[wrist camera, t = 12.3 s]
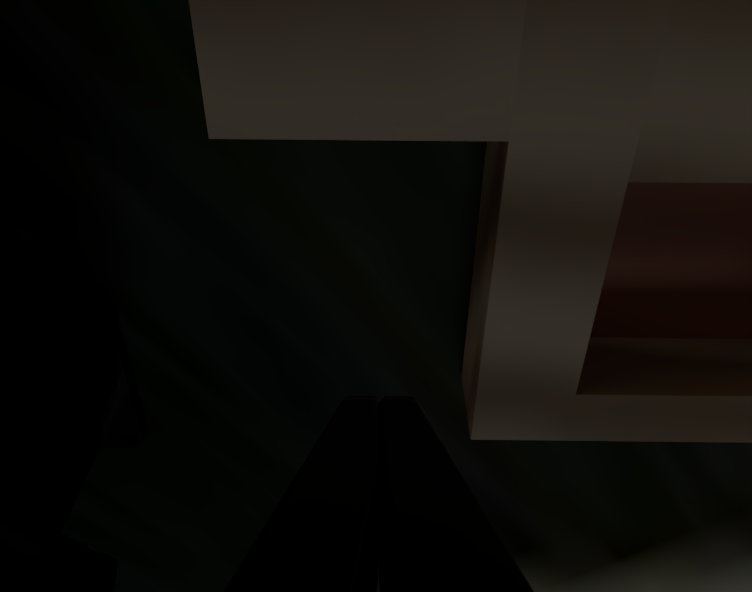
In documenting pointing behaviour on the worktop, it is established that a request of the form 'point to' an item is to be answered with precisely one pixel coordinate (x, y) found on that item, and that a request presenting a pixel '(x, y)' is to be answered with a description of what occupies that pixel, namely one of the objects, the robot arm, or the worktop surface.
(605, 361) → the trap deck
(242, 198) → the worktop surface
